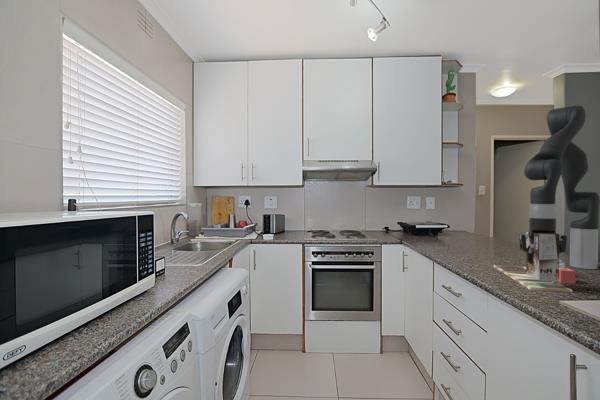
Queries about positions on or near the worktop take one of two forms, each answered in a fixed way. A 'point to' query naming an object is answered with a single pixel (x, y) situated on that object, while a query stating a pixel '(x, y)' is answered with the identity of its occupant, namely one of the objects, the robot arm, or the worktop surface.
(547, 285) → the wooden divided tray
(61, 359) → the worktop surface
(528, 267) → the coffee box
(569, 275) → the red die
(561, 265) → the dome
